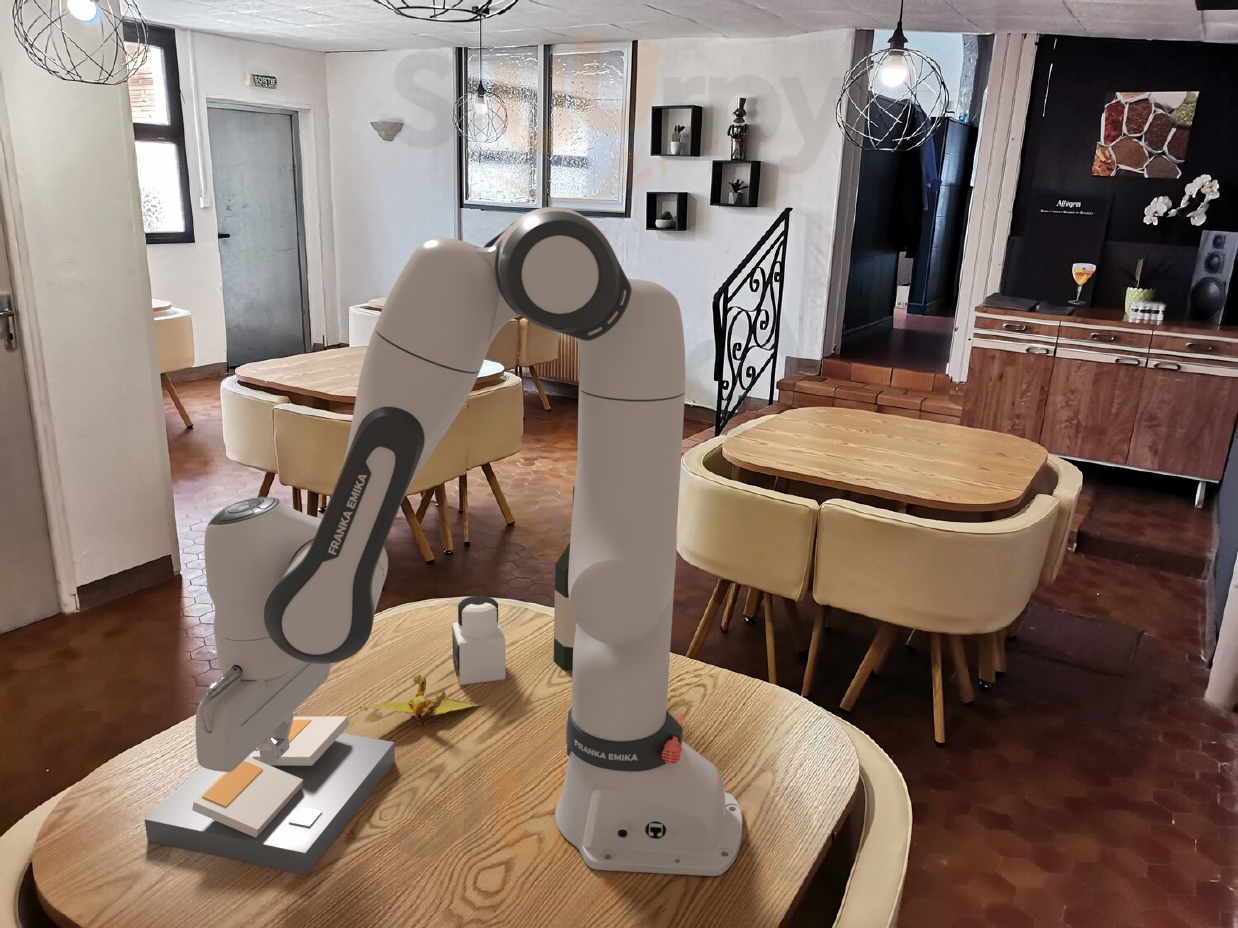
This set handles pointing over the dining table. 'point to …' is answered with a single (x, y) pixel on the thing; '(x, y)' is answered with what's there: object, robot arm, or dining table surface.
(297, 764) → the right rocker
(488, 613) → the medicine bottle
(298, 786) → the left rocker
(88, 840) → the dining table surface
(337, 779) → the switch panel
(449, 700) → the origami crane
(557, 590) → the wine bottle
